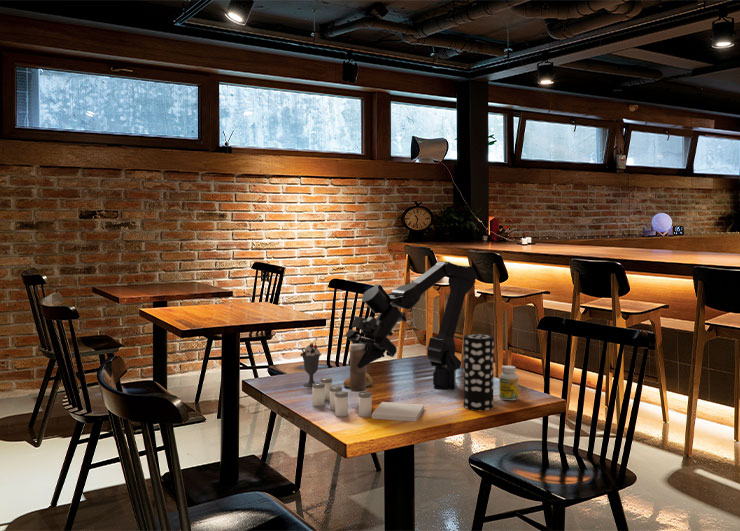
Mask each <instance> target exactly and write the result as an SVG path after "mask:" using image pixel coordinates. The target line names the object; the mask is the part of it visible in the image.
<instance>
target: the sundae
mask: <svg viewBox="0 0 740 531" xmlns="http://www.w3.org/2000/svg"><path fill="white" fill-rule="evenodd" d="M317 340H318V338H317V337H316V338H315V339H314V342H311V343H310V344H309V345H307V346H306V347H305V348H304V349H303V348H301V351H302V352H301V353H300V357H302V359H303V366H304V371H305V372H306V374H308V376H309V378H308V380H309V381H307V382H306V383H304V384H303V386H304V387H306V386H309V387H308V388H312V384H313V383H316V382H315V381H314V380H315V379H314V375H315V373H316V372H318V368H319V362H320V357H321V356H322V353H321V352H320V350H319V349H318V345H317Z"/></svg>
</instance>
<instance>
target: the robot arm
mask: <svg viewBox="0 0 740 531" xmlns="http://www.w3.org/2000/svg"><path fill="white" fill-rule="evenodd" d="M477 276H478V275H477V272H476V269H475V268H474V267H473V266H468V265H459V264H455V263H453V262H450V261H444V260H443V261H442V260H441V261H438V262H436V263H435V264H434V265H433V266H432V267H431V268H429V269H428V270H426V271H425V272H424V273H422V274H421V275H420V276H418V277H416V279H414V280H413V281H412V282H409V283H407V284H406V283H405V284H404V285H400V286H398V287H396V288H394V289H393V290H392V291H390V292H389V293H388V292H386V291H385V290H384V287H383V286H382V284H377V283H376V284H374V286H373V287H370V288H369V289H367V290H365V291H364V292H363V294H362V297H361V300H362V302H364V304H365V305H366V306H367V307H368V309H370V310H371V311H372V312H373V313H374V314H378V315H377V316H376V318H375V317H372V316H368V317H367V318H365V317H361V316H356V315H355V317H354V318H353V321H352V325H351V327H352V328H355V329H358V330H355V329H349V330H347V332H346V334H345V337H346V338H347V339H348V340H349V342H351V344H364V345H365V353H364V355H363V357H362V358H361V360H360V362H359V364H358V365H357V367H358V368H362V367H364V366H365V367H367V365H369V364H371V363H373V362H375V361H378V360H379V359H381V358H384V357H385V356H387V357H391V358H394V356H396V354H397V353H398V352H397V346H396V345H395V344H394V343H393V341H392V340H390V338H388V336H389V337H392V336H393V335H394V333H393V332H392V331H393V330H394V328H395V327H396V325H397V324H398V322H407V316H406V312H405V311H401V310H400V309H404V310H411V309H413V308H414V307H415V306H416V305H417V303H418V302H419V301H420V300H421V297H422V295H423V294H424V293H426V292H427V291H428V290H429V289H430V288H432V287H433V286H435V285H436V284H437V283H438V282H440V281H441V280H442V279H444V278H445V277H447V278H448V287H449V295H448V297H447V302H446V305H445V309H444V313H443V316H442V319H441V323H440V326H439V331H438V334H436V335H435V337H430V338H429V341H428V345H427V347H426V351H427V352H426V356H427V357H428V360H429V363H430V365H431V367H434V371H433V372H432V377H433V378H432V385H433V388H434V389H443V390H444V389H445V390H446V389H447V390H455V389H456V387H457V381H456V380H457V378H456V376H457V370H460V369H461V366H462V361H461V360H460V359H459V358H458V357H457V355H456V350H457V349H456V343H455V339H454V338H455V333H456V330H457V327H458V322H459V319H460V316H461V313H462V308H463V305H464V302H465V298H466V295H467V294H468V293H469V292H470V290H472V289H473V287H474V284H475V282H476V279H477ZM359 330H360V331H359ZM385 354H386V355H385ZM347 364H348V365H349V366H350V357H349V359H348V362H347Z"/></svg>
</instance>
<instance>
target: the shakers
mask: <svg viewBox="0 0 740 531" xmlns="http://www.w3.org/2000/svg"><path fill="white" fill-rule="evenodd" d="M311 388H312V406H313V407H317V406H319V407H325V404H326V401H329V409H330V411H331V410H332V411H334V415H335V416H336V417H339V418H341V417H342V418H343V417H347V416H349V393H348V391H345V390H344V391H343V387H342V386H341V385H333V378H332V377H321V378H319V382H315V383H313V384H312V387H311ZM372 395H373V394H372V392H370V391H362V392H358V416H359V417H361V418H369V417H372V413H373V412H372V410H373V409H372V408H373V405H372V402H373V400H372V399H373V398H372V397H373V396H372Z"/></svg>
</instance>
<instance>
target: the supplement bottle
mask: <svg viewBox="0 0 740 531" xmlns="http://www.w3.org/2000/svg"><path fill="white" fill-rule="evenodd" d="M516 372H517V371H516V366H514V365H502V366H501V373H500V374H499V384H498V385H499V387H498V388H499V391H498V392H499V393H498V394H499V400H501V399H503V400H502V401H504V400H516V399H517V400H518V399H519V375H518V374H517V373H516ZM517 400H516V401H517Z"/></svg>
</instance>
